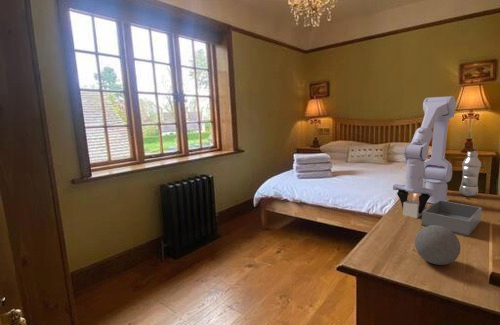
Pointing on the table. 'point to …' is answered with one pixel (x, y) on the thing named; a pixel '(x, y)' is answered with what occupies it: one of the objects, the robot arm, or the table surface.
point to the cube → (411, 208)
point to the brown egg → (416, 198)
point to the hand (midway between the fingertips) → (412, 211)
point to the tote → (452, 217)
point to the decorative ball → (437, 245)
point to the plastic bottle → (470, 174)
